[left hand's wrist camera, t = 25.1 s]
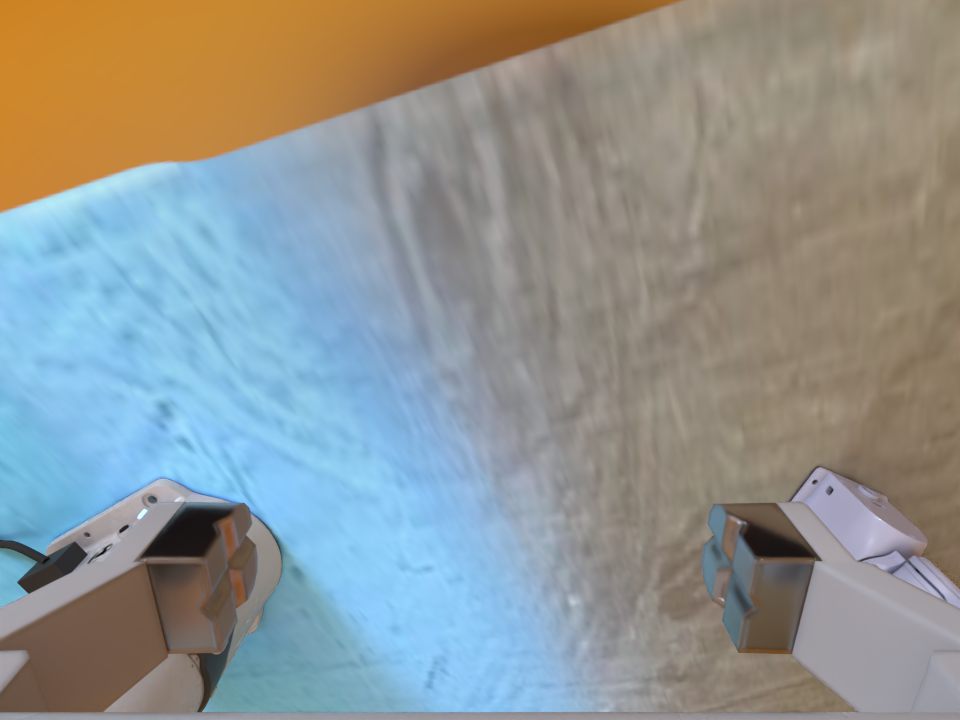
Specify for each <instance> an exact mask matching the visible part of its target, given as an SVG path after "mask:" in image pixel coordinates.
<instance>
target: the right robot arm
mask: <svg viewBox="0 0 960 720" xmlns="http://www.w3.org/2000/svg"><path fill="white" fill-rule="evenodd" d="M814 480H815V482H813V481H814ZM812 482H813V483H812ZM796 501H800V502H802V503H805V504H807V505H808V506H809V507H810V508H811V510H812V511H813V512H814V513H815V514H816V515H817V516H818V517H819V519H820V520H821V521H822V522H823V523H824V524H825V525H826V527H827V528H828V529H829V530H830V531H831V532H832V533H833V534H834V536H835V537H836V538H837V539H838V540H839V541H840V542H841V544H842V545H843V546H844V547H845V548H846V549H847V550H848V551H849V553H850V554H851V555H852V556H853V557H854V558H855V559H856V561H857V562H869V563H871V564H873V565H875V566H877V567H878V568H880V569H882V570H884V571H886V572H888V573H890V574H892V575H894V576H896V577H898V578H900V579H902V580H904V581H906V582H908V583H910V584H912V585H914V586H916V587H918V588H920V589H922V590H924V591H926V592H928V593H930V594H932V595H934V596H936V597H938V598H940V599H942V600H944V601H946V602H948V603H950V604H952V605H954V606H956V607H958V608H960V589H959V588H958V587H957V586H956V585H955V584H954V583H953V582H952V581H951V580H950V579H949V578H948V577H947V576H946V575H945V574H943V573H942V572H941V571H940V570H939V569H938V568H937V567H936V566H935V565H934V564H933V563H932V562H930V561H929V560H928V559H927V558H924V557H921V556H922V554H923V551H924V550H925V548H926V546H927V545H928V543H929V541H928V539H927V537H926V536H925V535H924V534H923V533H922V532H921V531H920V530H919V529H918V528H917V527H916V526H915V525H914V524H913V523H911V522H910V521H909V520H908V519H907V518H906V517H905V516H904V515H903V514H902V513H900V512H899V511H898V510H897V509H896V508H895V507H894V506H893V505H892V504H891V503H889V502H888V498H887V497H886V496H885V495H883V494H881V493H878V492H876V491H874V490H872V489H869V488H867V487H865V486H863V485H861V484H858V483H856V482H854V481H852V480H849V479H847V478H845V477H843V476H840V475H838V474H836V473H834V472H832V471H829V470H827V469H825V468H822V467H819V468H817V469H816V470H815V471H814V472H813V473H812V475H811V476H810V477H809V479H808V480H807V481H806V482H805V484H804V485H803V486H802V488H801V489H800V490H799V492H798V493H797V494H796V495H795V497H794V498H793V499H792V501H791V502H796Z"/></svg>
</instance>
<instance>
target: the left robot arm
mask: <svg viewBox="0 0 960 720" xmlns="http://www.w3.org/2000/svg"><path fill="white" fill-rule="evenodd" d="M152 496H154V497H155V498H156V499H154V498H153V497H152ZM708 525H709V527H710V529H711V531H712V532H713V534H714V535H713V536H712V537H711V538H710V540H709V541H708V542H707V543H706V544H705V545H704V550H703V558H702V566H703V577H704V581H705V584H706V588H707V590H708V592H709V595H710V597H711V599H712V601H714V602H715V603H717V604H718V605H719V606H721V607H722V608H724V613H723V619H722V621H723V623H724V625H725V627H726V629H727V631H728V633H729V635H730V637H731V639H732V641H733V643H734V645H735V647H736V649H737V651H738V653H770V654H792V656H791V657H792V658H794V659H795V660H796V661H797V662H798V663H800V664H801V665H802V666H803V667H804V668H806V669H807V670H808V671H809V672H810V673H811V674H813V675H814V676H815V677H816V678H817V679H819V680H820V681H821V682H822V683H823V684H825V685H826V686H827V687H828V688H829V689H830V690H832V691H833V692H834V693H835V694H836V695H838V696H839V697H840V698H841V699H842V700H843V701H845V702H846V703H847V704H848V705H849V706H851V707H852V708H853V709H854V710H855V711H857V712H202V711H203V709H204V708H205V706H206V705H207V703H208V701H209V699H210V698H211V697H212V696H213V694H214V692H215V690H216V688H217V686H216V685H217V683H218V681H219V679H220V677H221V676H222V674H223V673H224V671H225V670H226V668H227V666H228V665H229V663H230V662H231V660H232V658H233V657H234V655H235V653H236V652H237V650H238V648H239V647H240V645H241V643H242V642H243V640H244V638H245V637H246V635H247V634H250V633H253V632H254V631H255V630H256V629H257V627H258V625H259V624H260V622H261V619H262V614H263V606H264V604H265V602H266V601H267V600H268V598H269V597H270V596H271V594H272V593H273V592H274V590H275V589H276V587H277V585H278V583H279V580H280V577H281V572H282V559H281V554H280V550H279V547H278V545H277V543H276V541H275V539H274V537H273V536H272V534H271V533H270V531H269V530H268V529H267V528H266V526H265V525H264V524H263V523H262V522H261V521H260V520H259V519H257V518H256V517H255V516H254V515H252V514H251V513H250V510H249V507H248V506H247V505H246V504H245V503H231V502H228V501H225V500H222V499H219V498H215V497H210V496H205V495H201V494H197V493H194V492H192V491H190V490H189V489H187V488H185V487H183V486H182V485H180V484H178V483H176V482H174V481H172V480H169V479H158V480H156V481H154V482H153V483H151V484H149V485H147V486H146V487H144V488H142V489H140V490H139V491H137V492H135V493H134V494H132V495H130V496H128V497H127V498H125V499H123V500H121V501H120V502H118V503H116V504H115V505H113V506H111V507H109V508H108V509H106V510H104V511H102V512H101V513H99V514H97V515H96V516H94V517H92V518H90V519H89V520H87V521H85V522H84V523H82V524H80V525H78V526H77V527H75V528H73V529H71V530H70V531H68V532H66V533H65V534H63V535H61V536H59V537H58V538H56V539H55V540H54V541H52V542H51V544H50V545H49V546H48V547H47V550H46V556H45V555H43V554H41V553H39V552H37V551H35V550H34V549H32V548H30V547H28V546H25V545H23V544H21V543H18V542H15V541H5V540H0V548H8V549H12V550H15V551H17V552H19V553H22V554H24V555H26V556H28V557H29V558H31V559H33V560H35V561H37V563H36V564H35V565H34V566H33V567H32V568H31V569H30V570H29V571H28V572H27V573H26V574H25V575H24V576H23V577H22V578H21V579H20V580H19V581H18V582H17V583H18V584H19V585H20V586H21V587H22V588H23V589H24V590H25V591H26V592H28V593H29V594H28V595H26V596H24V597H22V598H20V599H18V600H16V601H14V602H12V603H10V604H8V605H6V606H4V607H2V608H0V720H960V608H958V607H956V606H954V605H952V604H950V603H948V602H946V601H944V600H942V599H940V598H938V597H936V596H934V595H932V594H930V593H928V592H926V591H924V590H922V589H920V588H918V587H916V586H914V585H912V584H910V583H908V582H906V581H904V580H902V579H900V578H898V577H896V576H894V575H892V574H890V573H888V572H886V571H884V570H882V569H880V568H878V567H877V566H875V565H873V564H871V563H869V562H857V561H856V559H855V558H854V557H853V556H852V555H851V554H850V553H849V551H848V550H847V549H846V548H845V547H844V546H843V545H842V544H841V542H840V541H839V540H838V539H837V538H836V537H835V536H834V534H833V533H832V532H831V531H830V530H829V529H828V528H827V527H826V525H825V524H824V523H823V522H822V521H821V520H820V519H819V517H818V516H817V515H816V514H815V513H814V512H813V511H812V510H811V508H810V507H809V506H808V505H807V504H805V503H802V502H800V501H796V502H771V503H734V504H713V506H712V508H711V510H710V513H709V519H708Z"/></svg>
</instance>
